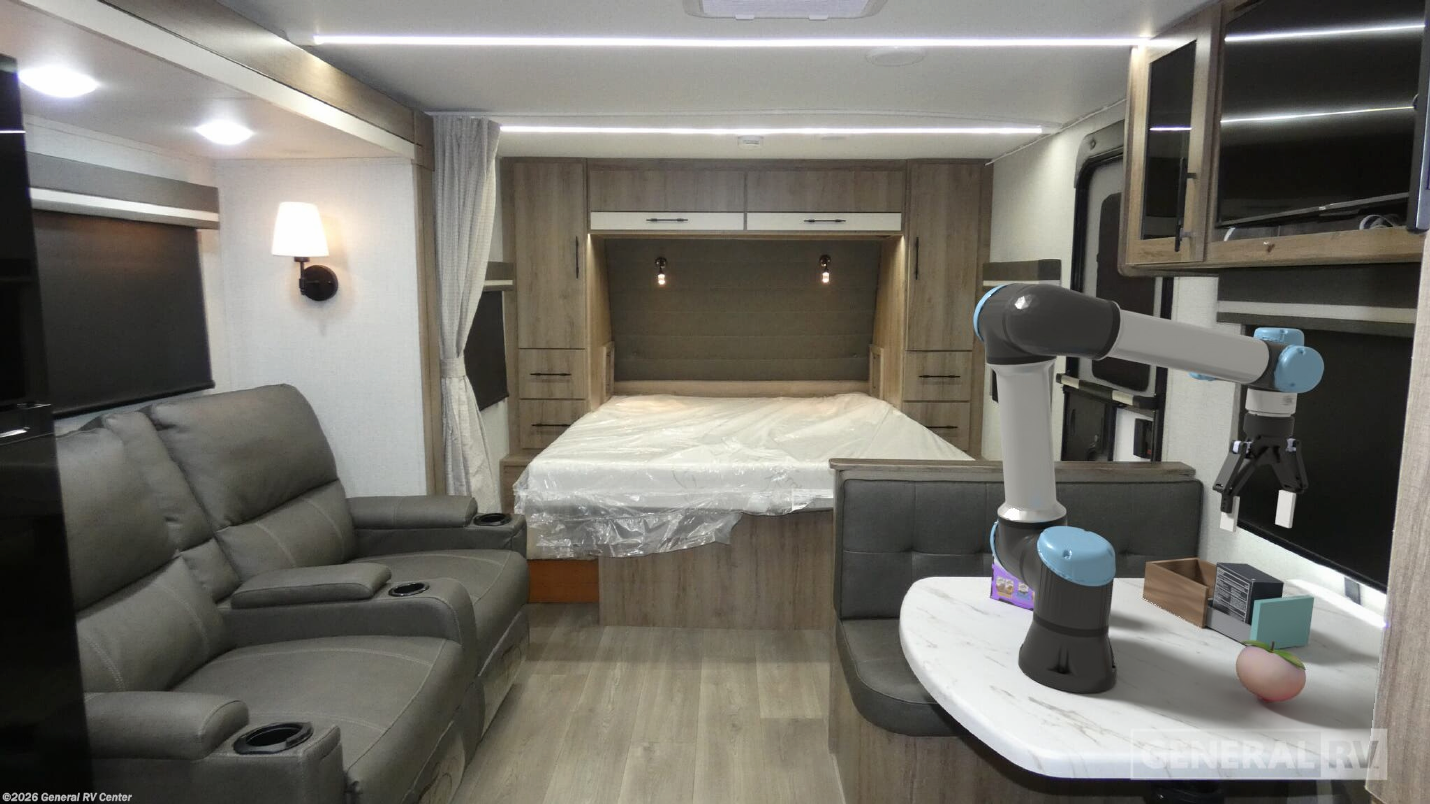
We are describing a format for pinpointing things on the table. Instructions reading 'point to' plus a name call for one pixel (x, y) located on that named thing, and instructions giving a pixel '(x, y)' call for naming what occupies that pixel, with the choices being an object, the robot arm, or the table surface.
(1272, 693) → the decorative fruit
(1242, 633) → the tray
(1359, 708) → the table surface
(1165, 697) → the table surface
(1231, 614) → the small box
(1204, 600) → the cubby
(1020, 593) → the candy box
